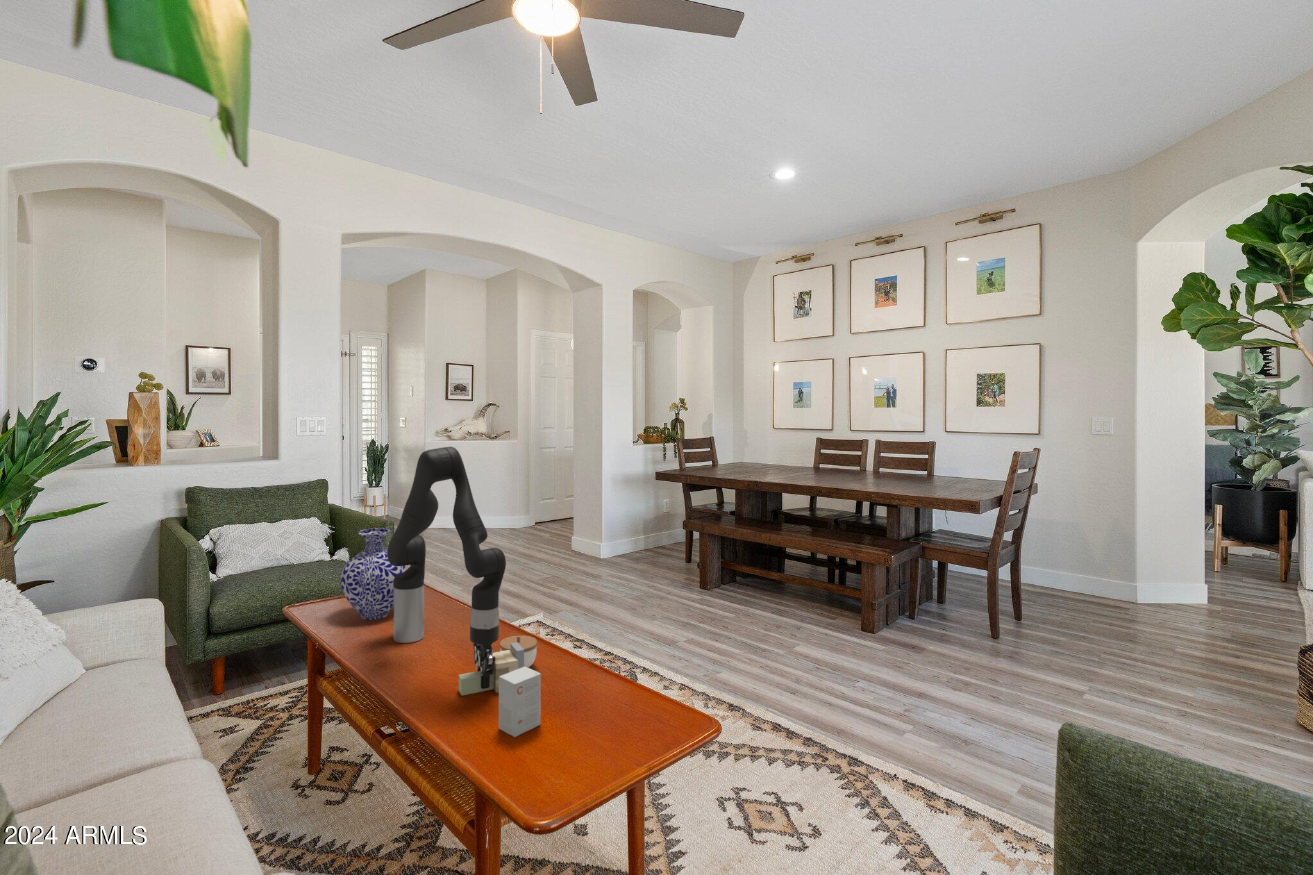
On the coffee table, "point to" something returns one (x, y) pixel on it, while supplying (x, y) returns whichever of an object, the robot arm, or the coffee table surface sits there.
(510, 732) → the small box
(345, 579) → the vase
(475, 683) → the pale green rectangular bar
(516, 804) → the coffee table surface
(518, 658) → the wall
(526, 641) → the lidded jar
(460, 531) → the robot arm
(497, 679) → the block
